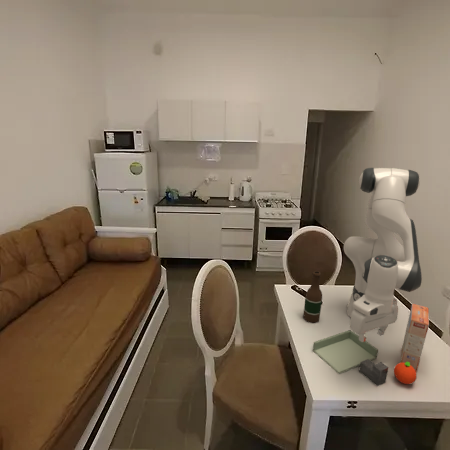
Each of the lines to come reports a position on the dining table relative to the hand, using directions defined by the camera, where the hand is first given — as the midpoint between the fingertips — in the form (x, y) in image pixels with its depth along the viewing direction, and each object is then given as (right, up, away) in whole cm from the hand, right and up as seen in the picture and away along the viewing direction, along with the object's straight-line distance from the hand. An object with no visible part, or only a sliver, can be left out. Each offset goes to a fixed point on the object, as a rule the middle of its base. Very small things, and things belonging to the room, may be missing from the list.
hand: (371, 337), depth 111 cm
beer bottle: (-11, -5, +37) cm, 39 cm away
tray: (-5, -11, +13) cm, 18 cm away
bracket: (+1, -15, +2) cm, 15 cm away
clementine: (+12, -16, +1) cm, 20 cm away
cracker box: (+20, -13, +11) cm, 26 cm away
